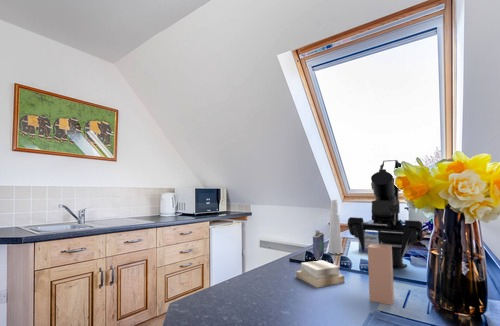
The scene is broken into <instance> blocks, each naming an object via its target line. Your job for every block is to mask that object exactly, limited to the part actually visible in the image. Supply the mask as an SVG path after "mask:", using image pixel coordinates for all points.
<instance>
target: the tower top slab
mask: <svg viewBox="0 0 500 326" xmlns="http://www.w3.org/2000/svg"><path fill="white" fill-rule="evenodd" d="M300 270H301V271H302V272H304V273H306V274H308V275H310V276H312V277H314V278H316V279H320V278H326V277H332V276H338V275H339V274H340V266H339V265H336V264H334V263H331V262H328V261H325V260H322V259H320V260H318V261H314V260H313V261H306V262H301V263H300Z"/></svg>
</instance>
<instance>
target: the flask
mask: <svg viewBox="0 0 500 326" xmlns="http://www.w3.org/2000/svg"><path fill="white" fill-rule="evenodd" d="M314 232H315V234H313V236H312V256H313V255H314V257H315V258H316V259H317V260H318V261H319V259H320V257H321V256H322V254H323V253H324V254H325V243H324V242H325V241H324V240H325V234H324V233H323V232H320V230H318V229H315V230H314ZM320 260H321V259H320Z"/></svg>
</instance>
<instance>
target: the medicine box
mask: <svg viewBox="0 0 500 326" xmlns="http://www.w3.org/2000/svg"><path fill="white" fill-rule="evenodd" d="M370 244H379V241H378V231H374V230H365V253H368V246H369V245H370ZM358 251H359V252H360V251H362V248H361V243H360V241H359V240H358Z"/></svg>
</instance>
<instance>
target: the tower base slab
mask: <svg viewBox="0 0 500 326" xmlns="http://www.w3.org/2000/svg"><path fill="white" fill-rule="evenodd" d="M295 271H296V272H295V273H296V277H295V278H297V279H299V280H301V281H304V282H305V283H306V284H309V285H311V286H313V287H315V288H322V287H327V286H332V285H339V284H342V283H345V275H344V274H341V273H339V275H338V276H332V277H326V278H320V279H316V278H314V277H312V276H310V275H308V274H306V273H304V272H302V271H301V269H300V270H295Z"/></svg>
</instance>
